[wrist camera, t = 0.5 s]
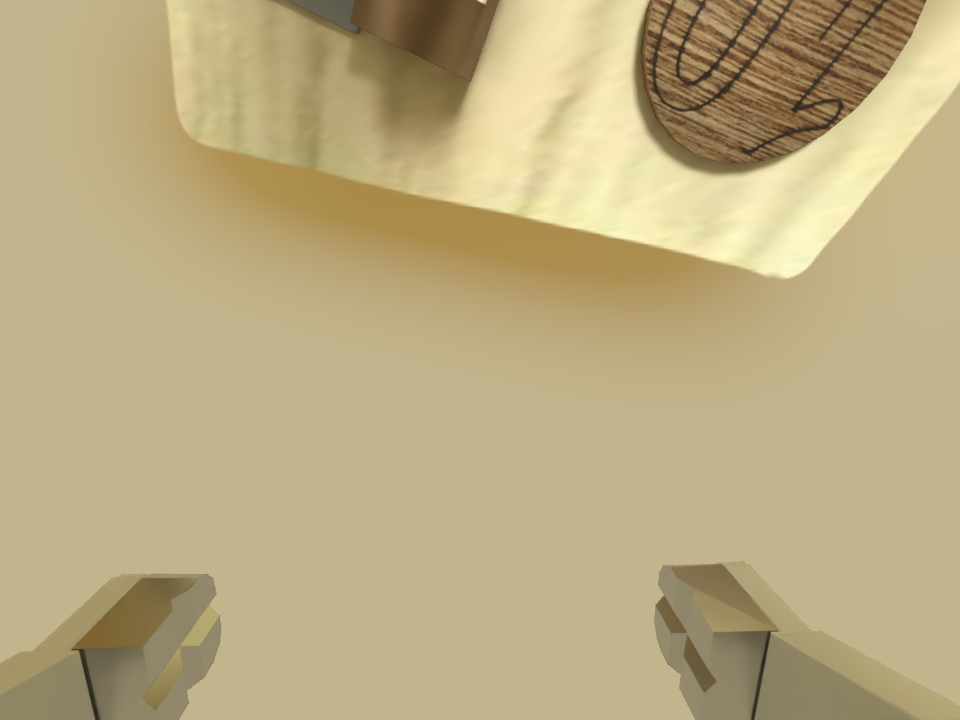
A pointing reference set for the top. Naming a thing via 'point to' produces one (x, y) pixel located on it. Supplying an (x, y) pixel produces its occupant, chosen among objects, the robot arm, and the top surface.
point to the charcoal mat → (331, 11)
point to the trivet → (766, 68)
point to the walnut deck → (431, 28)
